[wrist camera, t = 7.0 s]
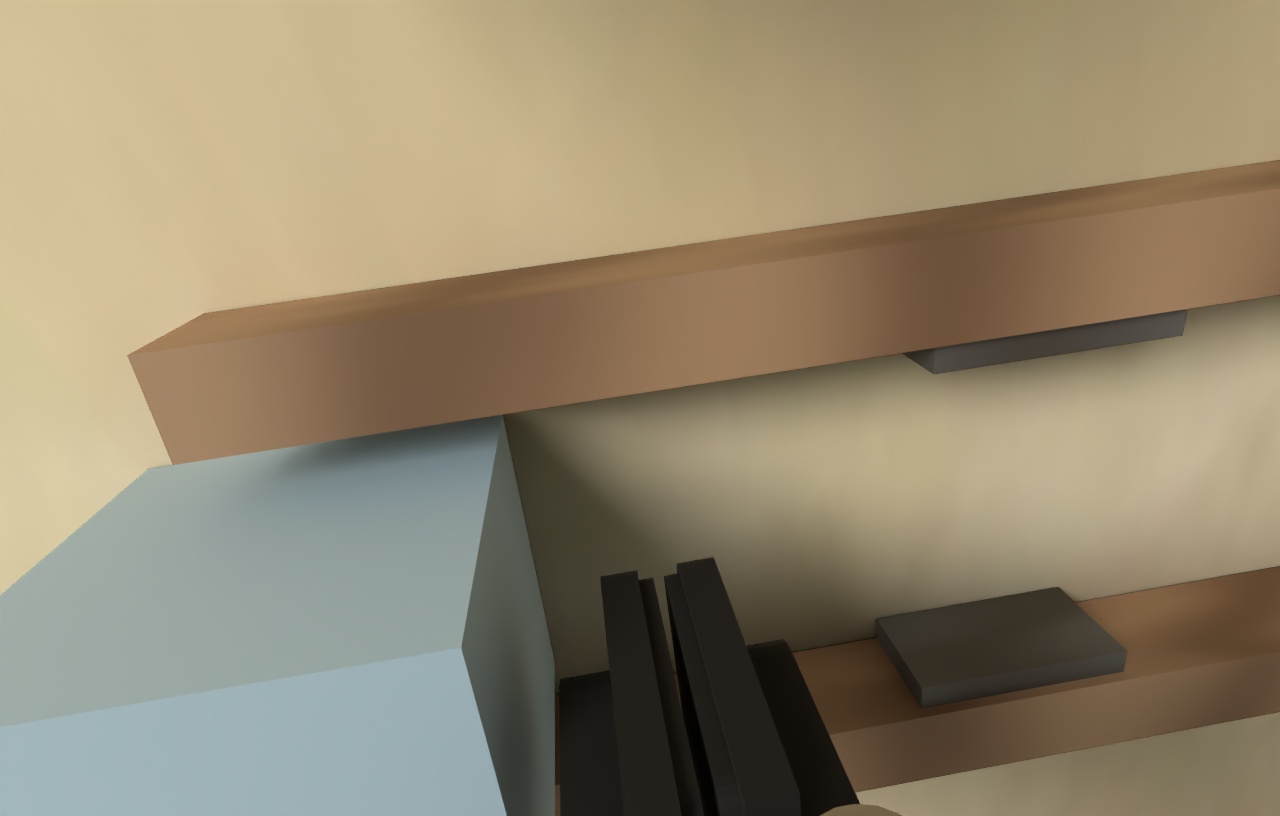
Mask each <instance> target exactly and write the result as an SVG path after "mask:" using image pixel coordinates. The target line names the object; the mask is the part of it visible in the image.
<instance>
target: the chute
mask: <svg viewBox="0 0 1280 816" xmlns="http://www.w3.org/2000/svg"><path fill="white" fill-rule="evenodd" d="M1275 295H1280V160H1277V161H1270V162H1263V163H1256V164H1249V165H1242V166H1235V167H1228V168H1221V169H1214V170H1207V171H1200V172H1193V173H1186V174H1179V175H1172V176H1165V177H1158V178H1151V179H1144V180H1137V181H1130V182H1123V183H1116V184H1108V185H1101V186H1094V187H1087V188H1080V189H1073V190H1066V191H1059V192H1052V193H1045V194H1038V195H1031V196H1024V197H1017V198H1010V199H1003V200H996V201H989V202H982V203H975V204H968V205H961V206H954V207H947V208H940V209H933V210H926V211H919V212H912V213H905V214H898V215H891V216H884V217H877V218H870V219H863V220H856V221H849V222H842V223H835V224H828V225H821V226H814V227H807V228H800V229H793V230H786V231H779V232H772V233H765V234H758V235H751V236H744V237H737V238H730V239H723V240H716V241H709V242H702V243H695V244H688V245H681V246H674V247H667V248H659V249H652V250H645V251H638V252H631V253H624V254H617V255H610V256H603V257H596V258H589V259H582V260H575V261H568V262H561V263H554V264H547V265H540V266H533V267H526V268H519V269H512V270H505V271H498V272H491V273H484V274H477V275H470V276H463V277H456V278H449V279H442V280H435V281H428V282H421V283H414V284H407V285H400V286H393V287H386V288H379V289H372V290H365V291H358V292H351V293H344V294H337V295H330V296H323V297H316V298H309V299H302V300H295V301H288V302H281V303H274V304H267V305H260V306H253V307H246V308H239V309H232V310H225V311H218V312H211V313H204V314H202V315H200V316H198V317H197V318H195V319H193V320H191V321H189V322H188V323H186V324H184V325H182V326H180V327H178V328H177V329H175V330H173V331H171V332H169V333H167V334H166V335H164V336H162V337H160V338H158V339H156V340H155V341H153V342H151V343H149V344H147V345H145V346H144V347H142V348H140V349H138V350H136V351H134V352H133V353H131V354H129V355H127V356H128V358H129V360H130V363H131V365H132V368H133V370H134V372H135V375H136V377H137V380H138V382H139V384H140V387H141V389H142V392H143V394H144V397H145V399H146V401H147V404H148V406H149V409H150V411H151V413H152V416H153V418H154V421H155V423H156V425H157V428H158V430H159V433H160V435H161V438H162V440H163V442H164V445H165V447H166V450H167V452H168V454H169V457H170V459H171V462H172V464H173V465H177V464H184V463H190V462H197V461H203V460H210V459H216V458H223V457H229V456H236V455H242V454H249V453H255V452H262V451H268V450H275V449H281V448H288V447H294V446H301V445H307V444H314V443H320V442H327V441H333V440H340V439H346V438H353V437H359V436H366V435H372V434H379V433H385V432H392V431H398V430H405V429H411V428H418V427H424V426H431V425H437V424H443V423H450V422H456V421H463V420H469V419H476V418H482V417H489V416H495V415H502V414H508V413H515V412H521V411H528V410H534V409H541V408H547V407H554V406H560V405H567V404H573V403H580V402H586V401H593V400H599V399H606V398H612V397H619V396H625V395H632V394H638V393H645V392H651V391H658V390H664V389H671V388H677V387H684V386H690V385H697V384H703V383H710V382H716V381H723V380H729V379H736V378H742V377H749V376H755V375H762V374H768V373H775V372H781V371H788V370H794V369H801V368H807V367H814V366H820V365H827V364H833V363H840V362H846V361H853V360H859V359H866V358H872V357H879V356H885V355H891V354H898V353H903V354H904V355H906V356H907V357H909V358H910V359H912V360H913V361H915V362H916V363H918V364H919V365H921V366H922V367H924V368H925V369H927V370H928V371H930V372H931V373H933V374H939V373H945V372H951V371H958V370H964V369H971V368H977V367H983V366H990V365H996V364H1003V363H1009V362H1015V361H1022V360H1028V359H1035V358H1041V357H1047V356H1054V355H1060V354H1067V353H1073V352H1079V351H1086V350H1092V349H1099V348H1105V347H1111V346H1118V345H1124V344H1131V343H1137V342H1143V341H1150V340H1156V339H1163V338H1169V337H1175V336H1182V335H1183V331H1184V325H1185V319H1186V314H1187V309H1190V308H1197V307H1203V306H1210V305H1216V304H1223V303H1229V302H1236V301H1242V300H1249V299H1255V298H1262V297H1268V296H1275ZM793 655H794V658H795V660H796V662H797V664H798V667H799V669H800V671H801V673H802V675H803V678H804V680H805V682H806V684H807V687H808V689H809V691H810V693H811V696H812V698H813V700H814V702H815V704H816V707H817V709H818V711H819V713H820V716H821V718H822V720H823V722H824V725H825V727H826V729H827V731H828V733H829V736H830V738H831V740H832V742H833V745H834V747H835V749H836V751H837V754H838V756H839V758H840V760H841V763H842V765H843V767H844V769H845V771H846V774H847V776H848V778H849V780H850V783H851V785H852V787H853V789H854V792H860V791H865V790H871V789H876V788H881V787H886V786H892V785H897V784H902V783H908V782H913V781H918V780H923V779H929V778H934V777H939V776H944V775H950V774H955V773H960V772H966V771H971V770H976V769H981V768H987V767H992V766H997V765H1002V764H1008V763H1013V762H1018V761H1024V760H1029V759H1034V758H1039V757H1045V756H1050V755H1055V754H1060V753H1066V752H1071V751H1076V750H1082V749H1087V748H1092V747H1097V746H1103V745H1108V744H1113V743H1118V742H1124V741H1129V740H1134V739H1140V738H1145V737H1150V736H1155V735H1161V734H1166V733H1171V732H1176V731H1182V730H1187V729H1192V728H1198V727H1203V726H1208V725H1213V724H1219V723H1224V722H1229V721H1235V720H1240V719H1245V718H1250V717H1256V716H1261V715H1266V714H1271V713H1277V712H1280V567H1274V568H1268V569H1263V570H1257V571H1251V572H1246V573H1240V574H1235V575H1229V576H1223V577H1218V578H1212V579H1206V580H1201V581H1195V582H1189V583H1184V584H1178V585H1172V586H1167V587H1161V588H1156V589H1150V590H1144V591H1139V592H1133V593H1127V594H1122V595H1116V596H1110V597H1105V598H1099V599H1093V600H1088V601H1082V602H1077V603H1075V602H1074V601H1073V600H1072V599H1071V598H1069V597H1068V596H1067V595H1066V594H1065V593H1064V592H1063V591H1062V590H1061V589H1060V588H1059V587H1056V588H1051V589H1045V590H1039V591H1033V592H1028V593H1022V594H1016V595H1011V596H1005V597H999V598H994V599H988V600H982V601H976V602H971V603H965V604H959V605H954V606H948V607H942V608H937V609H931V610H925V611H920V612H914V613H908V614H902V615H897V616H891V617H885V618H880V619H877V638H873V639H868V640H862V641H856V642H851V643H845V644H840V645H834V646H828V647H823V648H817V649H811V650H806V651H800V652H794V653H793ZM674 678H675V682H676V687H677V692H678V696H679V701H680V706H681V700H680V693H679V685H678V678H677V673H676V674H674ZM681 710H682V708H681ZM555 816H560V717H559V694H557V695H555Z"/></svg>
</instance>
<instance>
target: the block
mask: <svg viewBox="0 0 1280 816" xmlns="http://www.w3.org/2000/svg"><path fill="white" fill-rule="evenodd" d="M0 816H555V661H554V656H553V651H552V646H551V642H550V637H549V632H548V628H547V623H546V618H545V613H544V609H543V604H542V599H541V594H540V590H539V585H538V580H537V575H536V571H535V566H534V561H533V557H532V552H531V547H530V542H529V538H528V533H527V528H526V523H525V519H524V514H523V509H522V505H521V500H520V495H519V490H518V486H517V481H516V476H515V471H514V467H513V462H512V457H511V453H510V448H509V443H508V438H507V434H506V429H505V424H504V419H503V415H495V416H489V417H482V418H476V419H469V420H463V421H456V422H450V423H443V424H437V425H431V426H424V427H418V428H411V429H405V430H398V431H392V432H385V433H379V434H372V435H366V436H359V437H353V438H346V439H340V440H333V441H327V442H320V443H314V444H307V445H301V446H294V447H288V448H281V449H275V450H268V451H262V452H255V453H249V454H242V455H236V456H229V457H223V458H216V459H210V460H203V461H197V462H190V463H184V464H177V465H169V466H163V467H156V468H150V469H148V470H146V471H145V472H144V473H143V474H142V475H141V476H139V477H138V478H137V479H136V480H135V481H134V482H132V483H131V484H130V485H129V486H128V487H127V488H125V489H124V490H123V491H122V492H121V493H119V494H118V495H117V496H116V497H115V498H114V499H112V500H111V501H110V502H109V503H108V504H107V505H105V506H104V507H103V508H102V509H101V510H100V511H98V512H97V513H96V514H95V515H94V516H93V517H91V518H90V519H89V520H88V521H87V522H86V523H84V524H83V525H82V526H81V527H80V528H79V529H77V530H76V531H75V532H74V533H73V534H72V535H70V536H69V537H68V538H67V539H66V540H65V541H63V542H62V543H61V544H60V545H59V546H57V547H56V548H55V549H54V550H53V551H52V552H50V553H49V554H48V555H47V556H46V557H45V558H43V559H42V560H41V561H40V562H39V563H38V564H36V565H35V566H34V567H33V568H32V569H31V570H29V571H28V572H27V573H26V574H25V575H24V576H22V577H21V578H20V579H19V580H18V581H17V582H15V583H14V584H13V585H12V586H11V587H10V588H8V589H7V590H6V591H5V592H4V593H3V594H1V595H0Z"/></svg>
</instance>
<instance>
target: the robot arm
mask: <svg viewBox="0 0 1280 816" xmlns="http://www.w3.org/2000/svg"><path fill="white" fill-rule="evenodd" d="M664 581H665V589H666V596H667V604H668V611H669V619H670V626H671V633H672V641H673V648H674V656H675V663H676V671H677V678H678V685H679V693H680V700H681V706H680V701H679V696H678V692H677V687H676V682H675V678H674V673H673V669H672V664H671V659H670V655H669V650H668V645H667V641H666V636H665V632H664V627H663V622H662V618H661V613H660V608H659V604H658V599H657V594H656V590H655V585H654V581H653V578H649V579H643V580H638V574H637V570H636V571H630V572H624V573H619V574H613V575H607V576H601V589H602V598H603V608H604V618H605V628H606V638H607V648H608V658H609V668H610V670H609V671H603V672H598V673H592V674H587V675H581V676H575V677H570V678H564V679H561V680H560V686H559V717H560V816H902V815H900V814H898V813H895V812H893V811H890V810H887V809H884V808H882V807H879V806H873V805H862V804H860V803H859V800H858V798H857V796H856V794H855V792H854V789H853V787H852V785H851V783H850V780H849V778H848V776H847V774H846V771H845V769H844V767H843V765H842V763H841V760H840V758H839V756H838V754H837V751H836V749H835V747H834V745H833V742H832V740H831V738H830V736H829V733H828V731H827V729H826V727H825V725H824V722H823V720H822V718H821V716H820V713H819V711H818V709H817V707H816V704H815V702H814V700H813V698H812V696H811V693H810V691H809V689H808V687H807V684H806V682H805V680H804V678H803V675H802V673H801V671H800V669H799V667H798V664H797V662H796V660H795V658H794V655H793V653H792V651H791V649H790V647H789V645H788V643H787V642H786V641H785V640H784V639H782V640H777V641H771V642H766V643H760V644H754V645H749V646H746V644H745V642H744V639H743V636H742V634H741V631H740V628H739V625H738V623H737V620H736V617H735V614H734V612H733V609H732V606H731V603H730V601H729V598H728V595H727V592H726V590H725V587H724V584H723V582H722V579H721V576H720V573H719V571H718V568H717V565H716V562H715V560H714V558H713V557H712V558H706V559H700V560H694V561H689V562H683V563H677V574H672V575H667V576H664ZM681 708H682V710H681Z"/></svg>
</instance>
